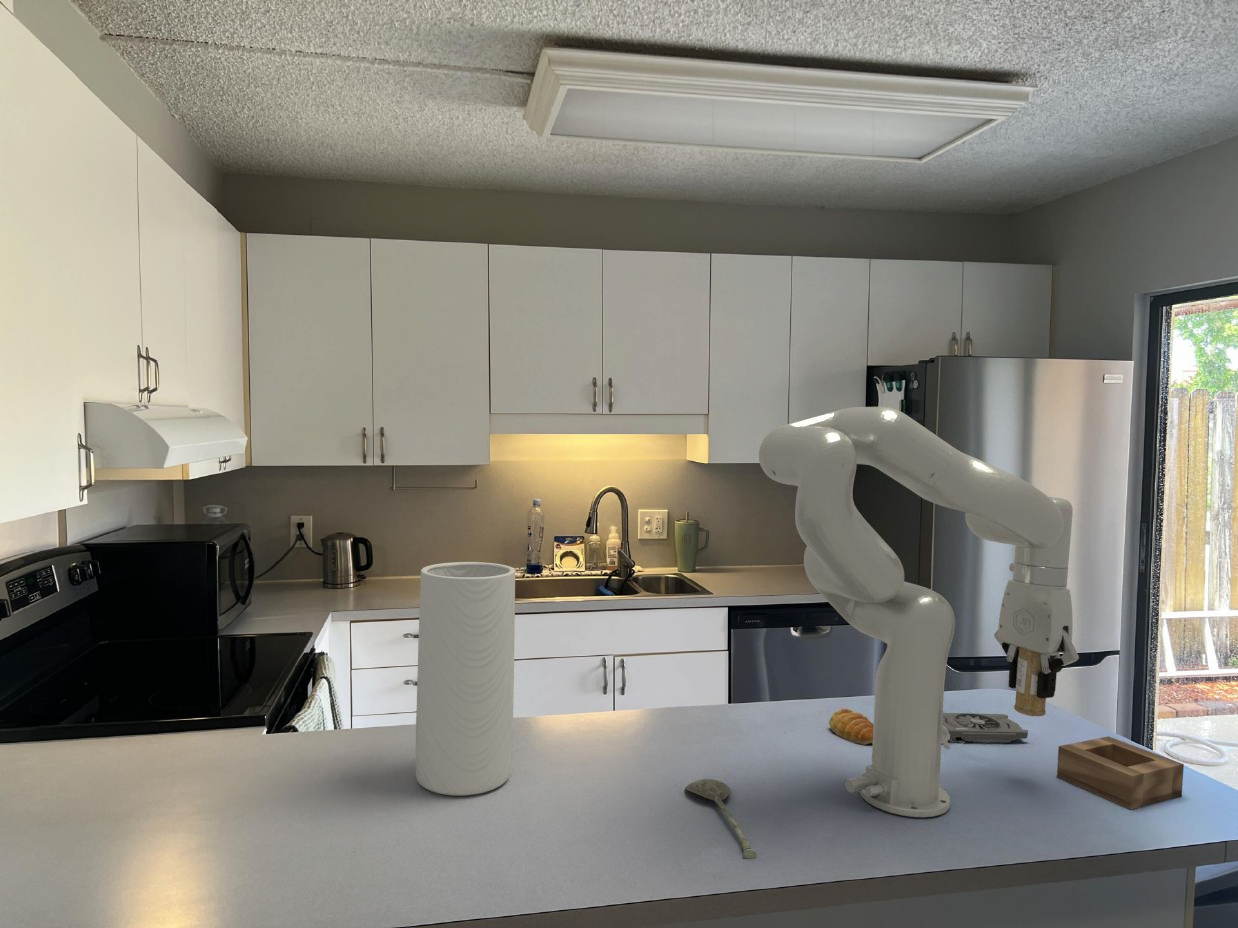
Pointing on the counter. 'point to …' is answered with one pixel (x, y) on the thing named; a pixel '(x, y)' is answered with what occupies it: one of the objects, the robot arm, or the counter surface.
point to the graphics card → (980, 728)
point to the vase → (465, 677)
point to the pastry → (852, 726)
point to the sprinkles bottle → (1028, 684)
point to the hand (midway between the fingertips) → (1031, 690)
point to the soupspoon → (720, 805)
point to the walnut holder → (1120, 772)
